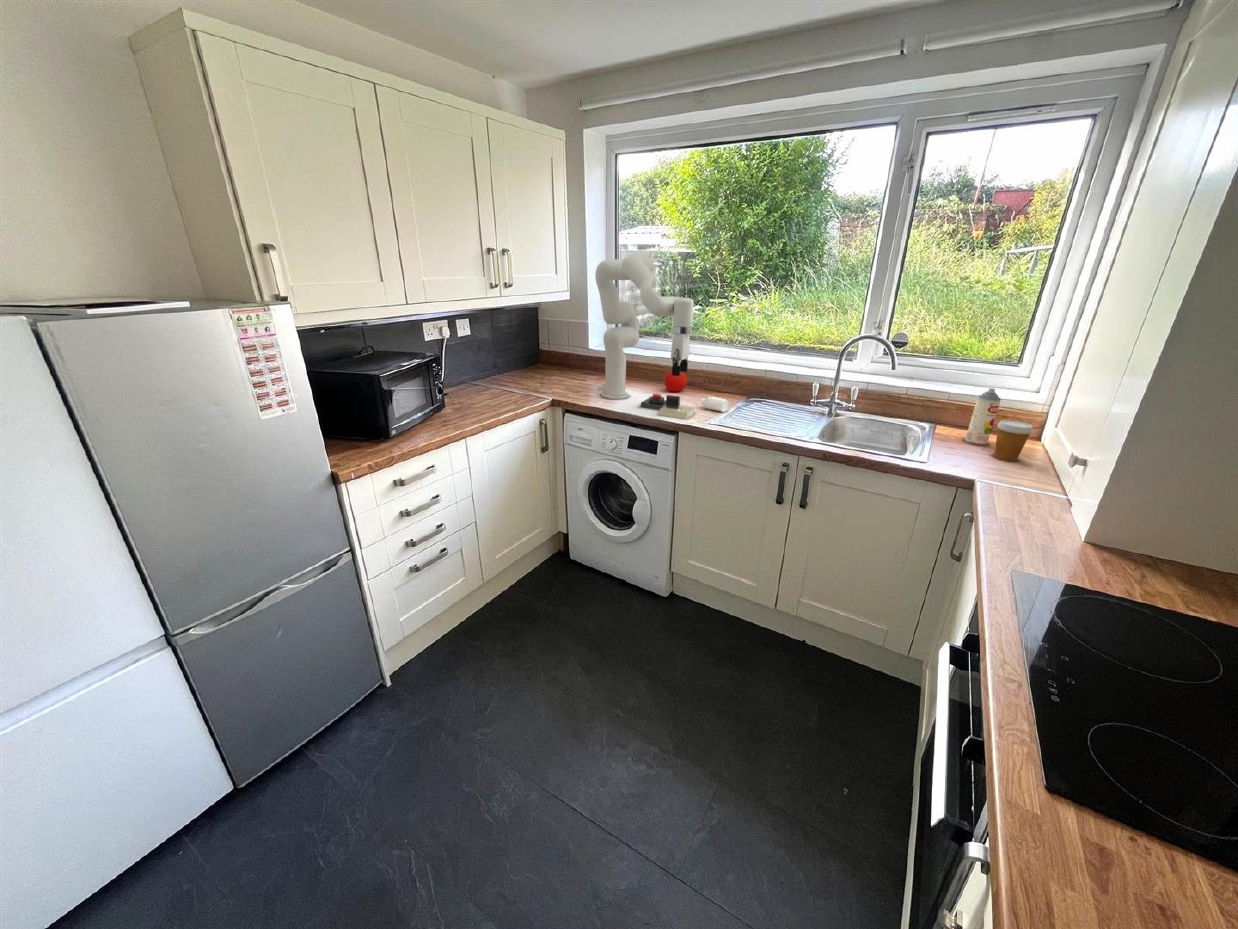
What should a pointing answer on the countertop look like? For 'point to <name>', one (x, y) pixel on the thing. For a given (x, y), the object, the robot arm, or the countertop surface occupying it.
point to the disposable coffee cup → (1011, 439)
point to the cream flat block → (677, 412)
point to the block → (653, 403)
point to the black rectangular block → (673, 401)
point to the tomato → (675, 382)
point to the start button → (656, 396)
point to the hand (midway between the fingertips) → (679, 373)
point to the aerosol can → (983, 418)
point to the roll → (715, 403)
